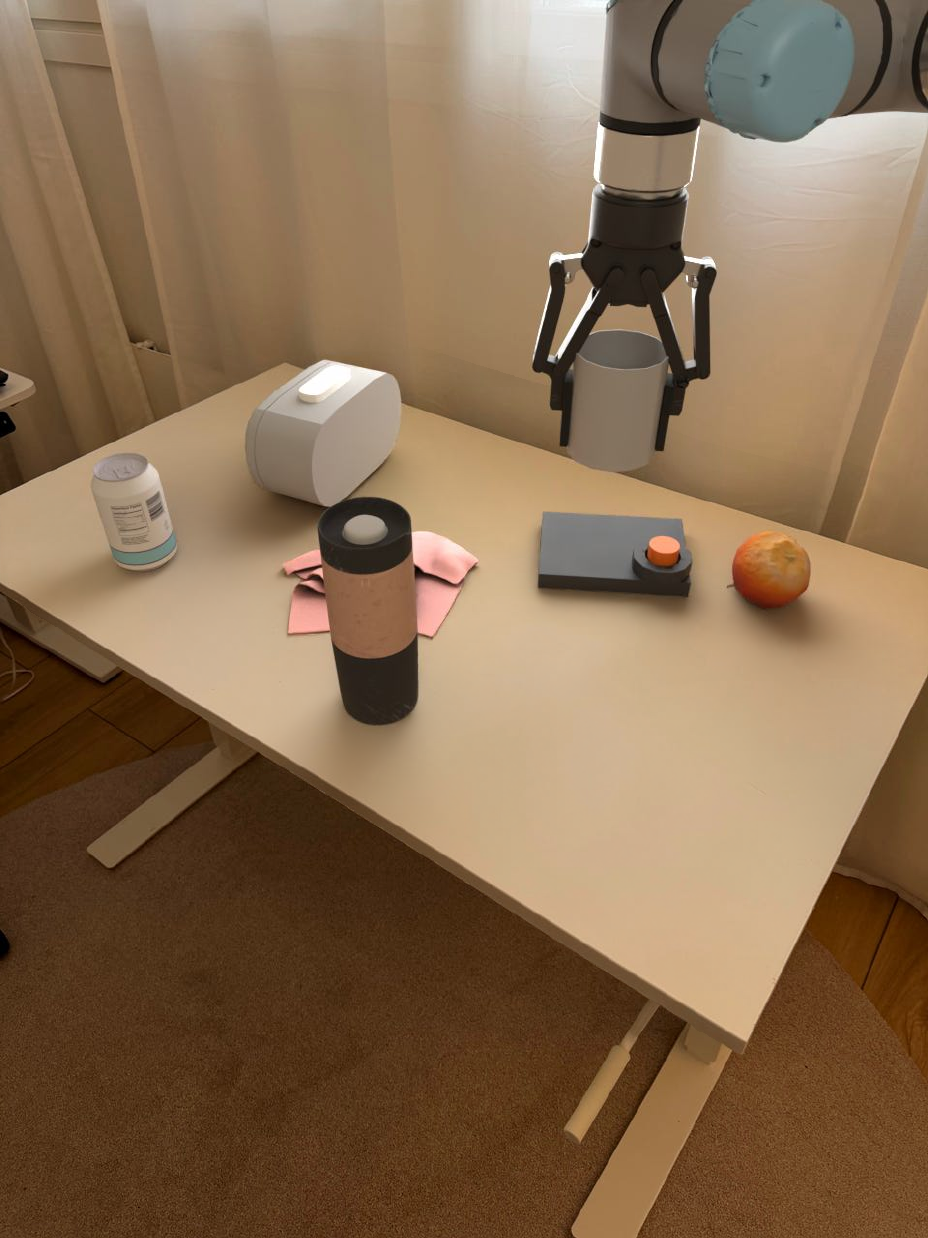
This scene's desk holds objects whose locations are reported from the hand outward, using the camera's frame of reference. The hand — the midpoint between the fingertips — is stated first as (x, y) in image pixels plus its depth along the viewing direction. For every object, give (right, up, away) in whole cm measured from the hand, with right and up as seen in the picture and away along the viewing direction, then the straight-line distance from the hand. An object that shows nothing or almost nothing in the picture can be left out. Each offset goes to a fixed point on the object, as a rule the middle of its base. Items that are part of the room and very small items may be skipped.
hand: (610, 441), depth 85 cm
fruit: (+18, -15, +11) cm, 25 cm away
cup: (0, -1, +1) cm, 1 cm away
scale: (+3, -10, +16) cm, 19 cm away
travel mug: (-22, -24, -1) cm, 33 cm away
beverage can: (-50, -10, +16) cm, 53 cm away
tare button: (+7, -10, +10) cm, 16 cm away
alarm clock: (-31, +1, +29) cm, 42 cm away
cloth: (-24, -13, +13) cm, 30 cm away
